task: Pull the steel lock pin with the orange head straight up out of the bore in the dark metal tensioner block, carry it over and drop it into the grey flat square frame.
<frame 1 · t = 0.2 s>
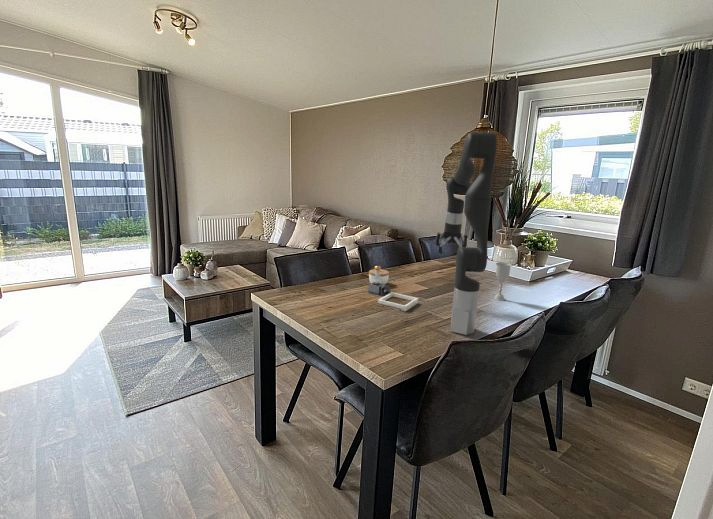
hand: (449, 254, 180), 23 cm above the table, tool pointing down, fingers open, 8 cm apart
tensioner block: (379, 294, 189), on the table
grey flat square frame: (398, 304, 176), on the table
lidded jar: (378, 285, 204), on the table
chalice: (499, 299, 189), on the table
lock pin: (376, 291, 190), point 1 cm above the table, touching tensioner block
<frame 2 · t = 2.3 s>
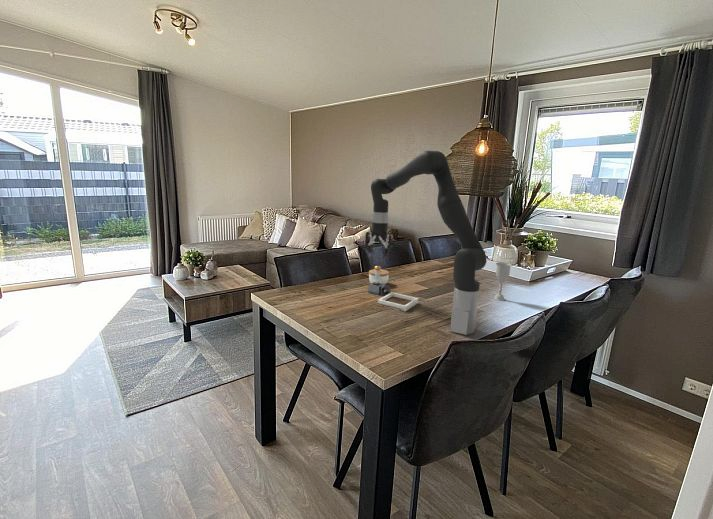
hand: (378, 254, 185), 20 cm above the table, tool pointing down, fingers open, 8 cm apart
nothing on the table moved.
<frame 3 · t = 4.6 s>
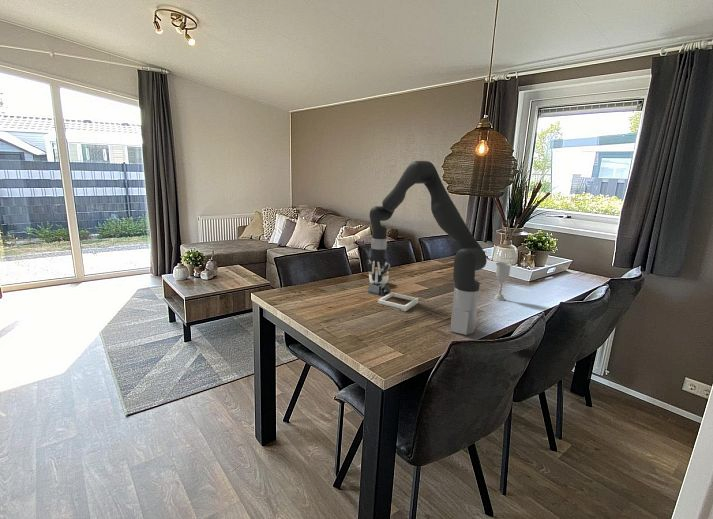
hand: (377, 281, 189), 7 cm above the table, tool pointing down, fingers closed on lock pin, 2 cm apart
lock pin: (376, 291, 190), point 1 cm above the table, touching gripper, tensioner block
everything else where it was.
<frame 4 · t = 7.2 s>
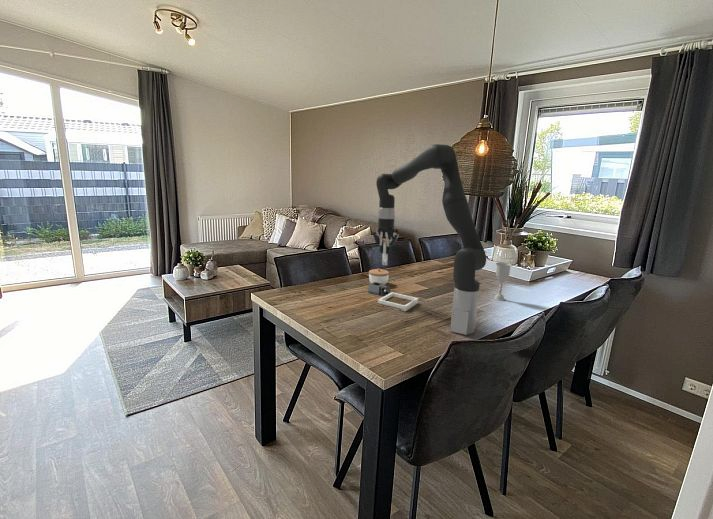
hand: (385, 253, 181), 22 cm above the table, tool pointing down, fingers closed on lock pin, 2 cm apart
lock pin: (384, 264, 182), point 16 cm above the table, touching gripper
everything else where it was.
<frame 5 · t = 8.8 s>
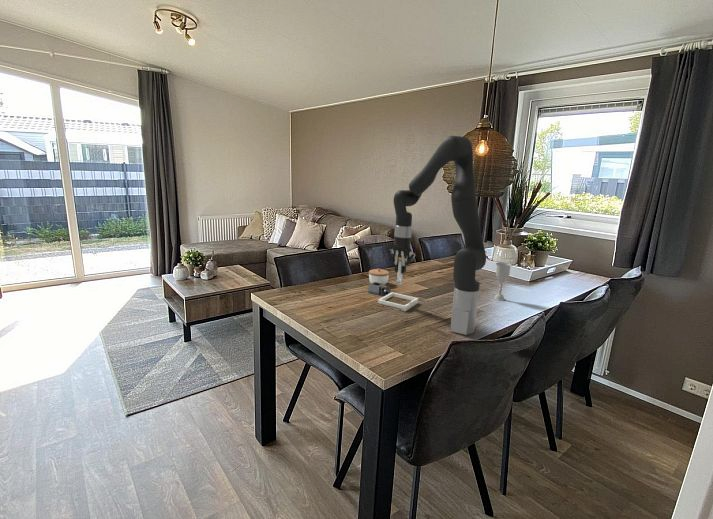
hand: (400, 272, 173), 15 cm above the table, tool pointing down, fingers closed on lock pin, 2 cm apart
lock pin: (399, 284, 174), point 10 cm above the table, touching gripper
everything else where it was.
when the fingers open (9 cm above the table, at t = 10.1 s): lock pin drops 2 cm, resting on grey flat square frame.
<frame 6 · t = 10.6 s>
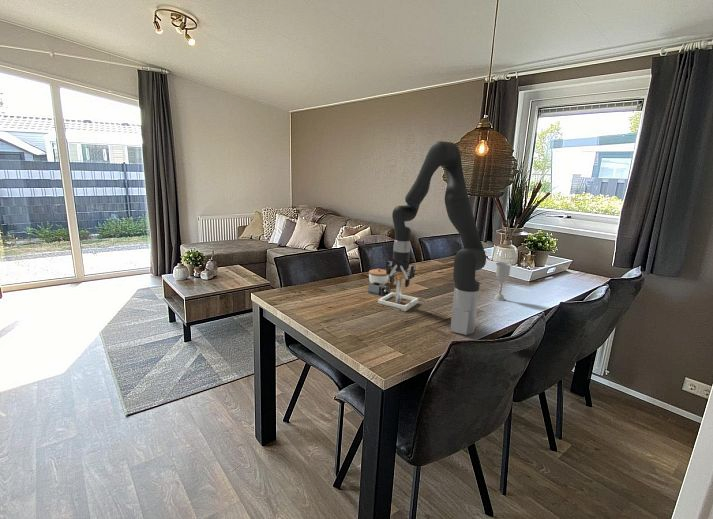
hand: (399, 285, 174), 9 cm above the table, tool pointing down, fingers open, 6 cm apart
lock pin: (397, 302, 176), point 1 cm above the table, touching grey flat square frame
everything else where it was.
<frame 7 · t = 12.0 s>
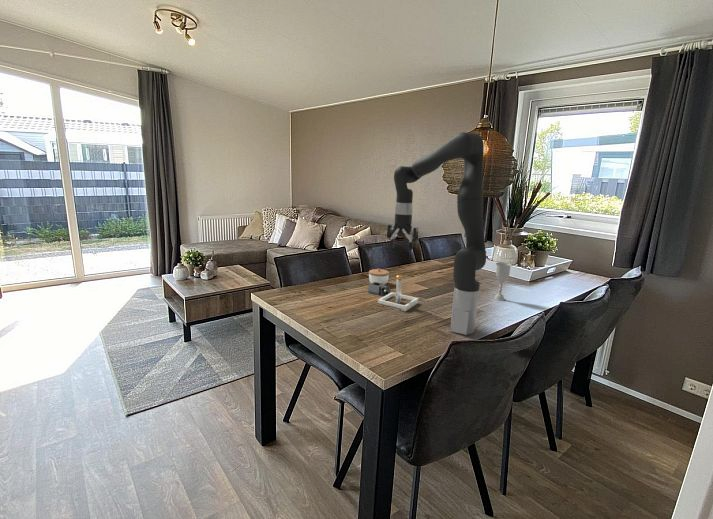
hand: (401, 249, 170), 26 cm above the table, tool pointing down, fingers open, 8 cm apart
nothing on the table moved.
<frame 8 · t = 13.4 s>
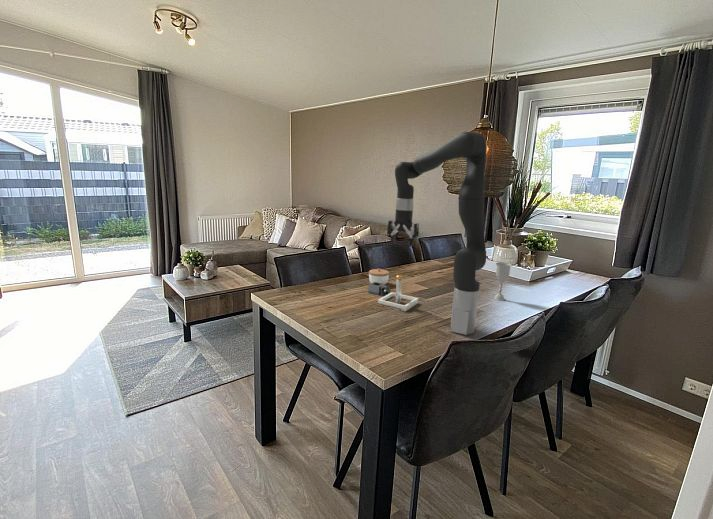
hand: (401, 245, 170), 28 cm above the table, tool pointing down, fingers open, 8 cm apart
nothing on the table moved.
at the end: lock pin inside the target area on the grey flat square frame (0.1 cm from its centre), point 0.6 cm above the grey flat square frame's base; the gripper is holding nothing; lock pin touching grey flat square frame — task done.
